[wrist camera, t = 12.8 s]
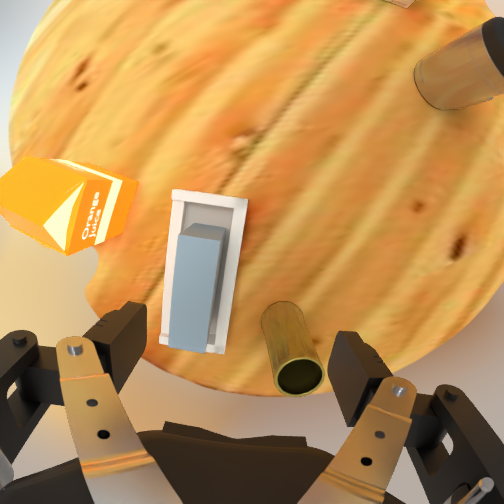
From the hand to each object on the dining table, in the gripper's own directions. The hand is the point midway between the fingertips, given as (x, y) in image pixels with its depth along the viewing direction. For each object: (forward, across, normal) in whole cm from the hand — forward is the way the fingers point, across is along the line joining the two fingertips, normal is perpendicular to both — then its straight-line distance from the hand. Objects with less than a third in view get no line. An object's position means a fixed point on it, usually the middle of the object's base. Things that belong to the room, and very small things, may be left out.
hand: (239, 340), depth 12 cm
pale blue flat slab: (+26, +5, +5) cm, 27 cm away
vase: (+28, -7, +12) cm, 31 cm away
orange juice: (+28, +20, -2) cm, 34 cm away
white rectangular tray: (+28, +5, +5) cm, 29 cm away
